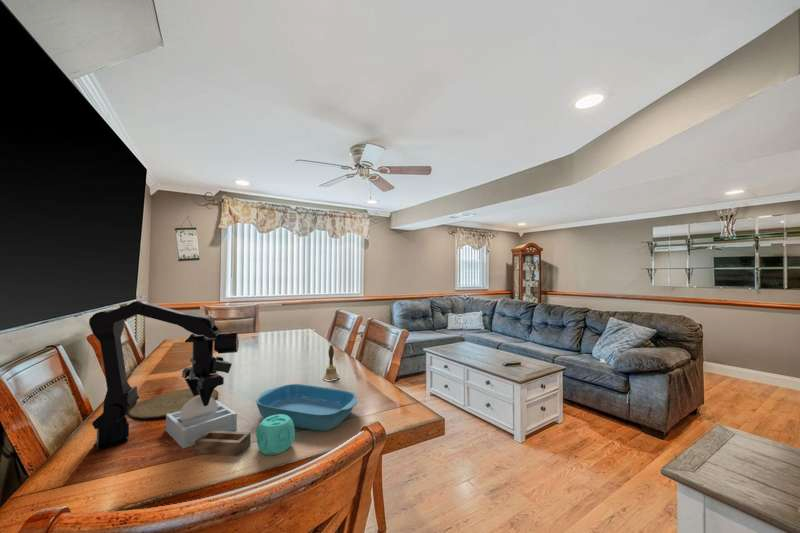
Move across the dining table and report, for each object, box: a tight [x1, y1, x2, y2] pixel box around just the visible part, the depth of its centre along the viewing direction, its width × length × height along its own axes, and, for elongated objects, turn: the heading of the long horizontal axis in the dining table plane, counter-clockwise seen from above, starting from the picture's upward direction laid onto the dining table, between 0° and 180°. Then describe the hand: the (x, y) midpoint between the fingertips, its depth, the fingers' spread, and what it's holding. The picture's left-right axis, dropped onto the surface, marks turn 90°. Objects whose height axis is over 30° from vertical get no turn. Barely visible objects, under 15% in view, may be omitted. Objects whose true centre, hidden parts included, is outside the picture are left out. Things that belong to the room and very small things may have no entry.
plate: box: [180, 395, 217, 422], centre depth 102 cm, size 2×10×10 cm
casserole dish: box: [255, 383, 358, 432], centre depth 113 cm, size 37×22×7 cm, turn 73°
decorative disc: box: [128, 388, 220, 420], centre depth 123 cm, size 29×3×30 cm
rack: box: [165, 399, 238, 450], centre depth 103 cm, size 15×17×5 cm
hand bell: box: [322, 344, 340, 380], centre depth 154 cm, size 8×8×16 cm
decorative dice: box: [255, 414, 296, 456], centre depth 93 cm, size 8×8×8 cm
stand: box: [194, 430, 252, 456], centre depth 92 cm, size 13×6×4 cm, turn 86°
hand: (201, 402), depth 103 cm, fingers open, 7 cm apart
